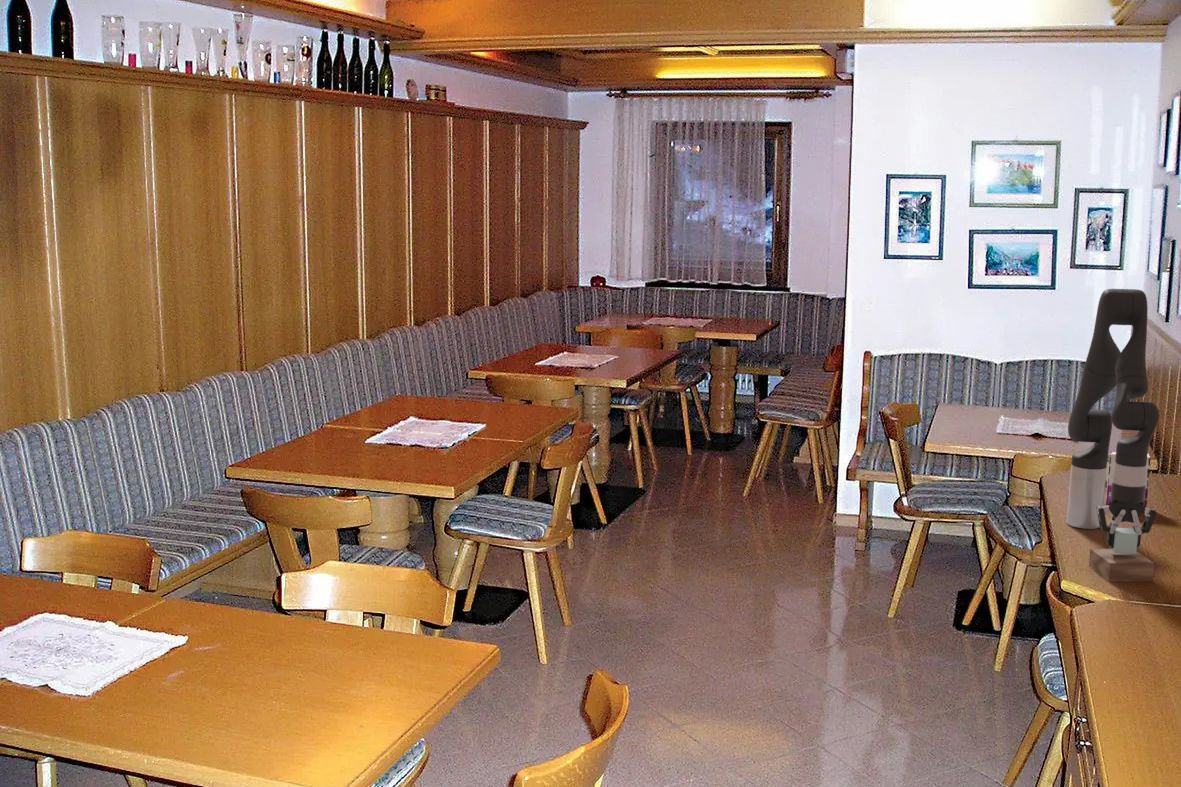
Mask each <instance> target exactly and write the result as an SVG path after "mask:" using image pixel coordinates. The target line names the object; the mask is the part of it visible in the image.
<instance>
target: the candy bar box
mask: <svg viewBox="0 0 1181 787" xmlns="http://www.w3.org/2000/svg"><path fill="white" fill-rule="evenodd" d="M1109 455H1110V457H1109V469H1108V482H1107V489H1106V495H1105V506H1107V505H1108V504H1109V503H1110V500H1111V490H1112V479H1113V470H1114V466H1115V458H1116V450H1115V451H1114V450H1109ZM1150 468H1151V455H1150V453H1147V464H1146V473H1147V475H1146V479H1147V481H1146V486H1145V496H1144V506H1145V507H1146V508H1147V505H1148V503H1147V502H1148V493H1149V482H1150V481H1149V480H1150V470H1151V469H1150Z"/></svg>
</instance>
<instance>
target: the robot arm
mask: <svg viewBox="0 0 1181 787" xmlns="http://www.w3.org/2000/svg"><path fill="white" fill-rule="evenodd" d="M1148 308H1149V307H1148V299H1147V295H1146V293H1145V292H1144V291H1143V290H1141V289H1132V288H1129V289H1128V288H1106V289H1104V290H1103V291H1102V293H1101V294H1100V297H1099V300H1098V304H1097V311H1096V316H1095V322H1094V329H1093V333H1092V334H1093V335H1092V339H1091V341H1090V345H1089V350H1088V353H1087V356H1086V359H1085V363H1084V367H1083V372H1082V377H1081V381H1080V385H1079V389H1078V393H1077V397H1076V399H1075V402H1074V404H1073V408H1072V409H1071V413H1070V416H1069V420H1068V425H1067V427H1068V428H1067V432H1068V436H1069V438H1070V439H1071V440H1072V441H1074V442H1080V443H1093V445H1092V446H1090V447H1087V448H1086V449H1083V450H1081V451H1078V452H1075V453H1073V454H1072V456H1071V461H1070V462H1071V464H1070V465H1071V466H1070V473H1069V474H1070V475H1069V489H1068V500H1067V509H1066V510H1067V512H1066V521H1065V522H1066V524H1067V525H1069V526H1070V527H1073V528H1079V529H1086V530H1090V529H1091V530H1093V529H1096V530H1097V529H1099V528H1100V529H1101V530H1102V531H1103V532H1106V545H1107V546H1108V547H1109V549H1111V548H1114V538H1115V534H1114V532H1115V530H1116V528H1119V526H1120V524H1121V523H1125V522H1128V523H1131V525H1132V529H1133V530H1134V531H1135V532H1136V533H1137V534H1138V541H1137V548H1139V547H1140V546H1141V542H1142V541H1141V538H1142V535H1143V534H1149V533H1150V532H1151V529H1152V527H1153V524H1154V521H1155V519H1156V516H1157V514H1158V513H1157V510H1156V509H1154V508H1153V507H1147V506H1146V507H1145V506H1144V496H1145V486H1146V481H1147V479H1146V475H1147V473H1146V464H1147V454H1149V453H1148V451H1149V447H1150V444H1151V441H1152V438H1153V435H1154V433H1155V431H1156V429H1157V427H1158V424H1159V420H1160V410H1159V407H1158V406H1157V405H1156V404H1155V403H1153V402H1150V401H1149V402H1148V401H1131V400H1133V399H1139V398H1141V397H1144V396H1145V395H1146V394H1147V393H1148V390H1149V384H1148V383H1149V382H1148V374H1147V365H1146V364H1147V363H1146V362H1147V360H1146V351H1147V350H1146V349H1147V337H1148V336H1147V334H1148ZM1113 325H1114V326H1132V332H1131V336H1130V338H1129V340H1128V341H1127V343H1126V344H1125V346H1124V347H1123V349H1122V350H1120V349H1119V346H1118V345H1117V344H1116V343H1115V341H1114V339H1113V337H1112V334H1111V332H1110V327H1112V326H1113ZM1115 388H1116V394H1115V401H1114V404H1113V408H1112V412H1110V411H1109V410H1107V409H1098V408H1097V409H1094V408H1093V406H1095V405H1096V403H1097V402H1099V401H1100V400H1101V399H1103V398H1104V397H1105V396H1107V395H1108V394H1109V393H1111V392H1112V390H1114V389H1115ZM1129 400H1130V401H1129ZM1092 408H1093V409H1092ZM1113 427H1115V428H1116V429H1117V430H1120V431H1138V432H1137V434H1136V435H1134V436H1132V437H1126V438H1122V439H1119V440H1118V441H1117V442H1116V450H1115V451H1116V458H1115V466H1114V470H1113V479H1112V490H1111V500H1110V503H1109V504H1108V505H1107V506H1106V505H1104V502H1105V500H1104V499H1105V492H1106V491H1105V490H1106V489H1105V480H1106V468H1107V460H1108V455H1109V453H1110V450H1109V449H1110V443H1111V436H1112V430H1113ZM1108 511H1110V514H1112V515H1111V517H1110V519H1109V523H1108V524H1107V520H1106V519H1107V518H1106V515H1107V514H1108ZM1143 514H1144V516H1145V518H1144V520H1143V522H1142V525H1141V523H1140V521H1139V518H1140V516H1141V515H1143Z"/></svg>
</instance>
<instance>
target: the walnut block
mask: <svg viewBox="0 0 1181 787" xmlns="http://www.w3.org/2000/svg"><path fill="white" fill-rule="evenodd" d="M1088 567H1089V568H1090V567H1091V568H1092V569H1091V568H1090V569H1091V570H1093V569H1094V570H1095V571H1096V572H1095V571H1094V570H1093V571H1094V572H1095V573H1096V574H1098V573H1099V574H1100V575H1099V574H1098V575H1099V576H1101V577H1102V578H1103V577H1104V578H1103V579H1104V580H1106V581H1107V580H1108V581H1107V582H1109V581H1123V582H1153V581H1154V572H1155V562H1154V561H1153V560H1150V559H1149V558H1148V557H1146V556H1145V555H1144V554H1142V553H1140V552H1139V551H1136V554H1128V553H1115V552H1114V551H1113V550H1112V549H1111V548H1090V550H1089V560H1088Z"/></svg>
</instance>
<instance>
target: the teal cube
mask: <svg viewBox="0 0 1181 787" xmlns="http://www.w3.org/2000/svg"><path fill="white" fill-rule="evenodd" d="M1114 534H1115V538H1114V548H1110V549H1112V550H1113V551H1114V552H1115V553H1128V554H1136V551H1137V550H1138V547H1137V541H1138V534H1137V533H1136V532H1135V531H1134V529H1133V527H1132V528H1131V527H1117V528H1116V530H1115V532H1114ZM1137 552H1138V551H1137Z"/></svg>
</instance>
